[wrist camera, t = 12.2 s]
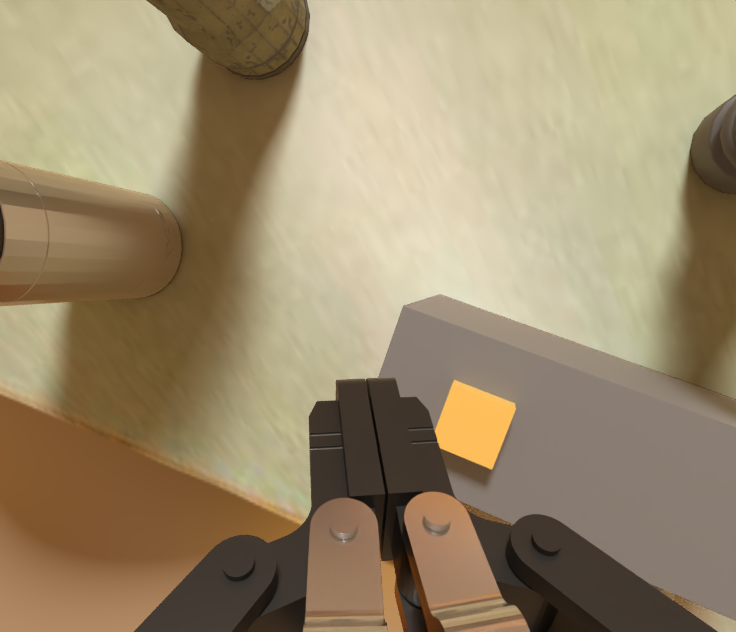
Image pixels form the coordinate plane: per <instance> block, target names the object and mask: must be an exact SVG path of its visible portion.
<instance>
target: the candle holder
mask: <svg viewBox="0 0 736 632" xmlns="http://www.w3.org/2000/svg"><path fill="white" fill-rule="evenodd" d="M690 154H691V159H692V163H693V167H694V170H695V171H696V173H697V174H698V175H699V176H700V178H701V179H702V180H703V181H704V183H705V184H707V185H709V186H711V187H713V188H715V189H717V190H719V191H720V192H725V193H734V194H736V95H734V96H733V97H731V98H730V99H729V100H727V101H726V102H724V103H723V104H722V105H721V106H719V107H718V108H717V109H715V110H714V111H713V112H712V113H710V114H709V115H708V116H706V117H705V118H704V120H703V121H702V123H701V124H700V126H699V127H698V128H697V130H696V131H695V133H694V135H693V140H692V145H691V150H690Z"/></svg>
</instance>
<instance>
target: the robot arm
mask: <svg viewBox="0 0 736 632" xmlns="http://www.w3.org/2000/svg"><path fill="white" fill-rule="evenodd" d="M181 251H182V242H181V234H180V230H179V227H178V224H177V222H176V220H175V218H174V216H173V214H172V213H171V212H170V210H169V209H168V208H167V207H166V205H164V204H163V203H162V202H161V201H159V200H158V199H156V198H154V197H152V196H150V195H148V194H143V193H139V192H135V191H131V190H126V189H122V188H118V187H114V186H110V185H106V184H101V183H97V182H93V181H88V180H84V179H79V178H75V177H71V176H66V175H62V174H57V173H53V172H49V171H44V170H40V169H36V168H31V167H27V166H22V165H18V164H14V163H9V162H5V161H0V306H12V305H28V304H45V303H61V302H77V301H94V300H114V299H129V298H142V297H147V296H151V295H153V294H155V293H157V292H159V291H160V290H162V289H163V288H164V287H165V286H167V284H168V283H169V282H170V281H171V279H172V278H173V277H174V275H175V273H176V271H177V269H178V266H179V262H180V259H181ZM309 442H310V476H311V503H312V507H311V511H310V513H309V516H308V518H307V519H306V521H305V522H304V523H303V524H302V525H301V526H300V527H299V528H298V529H297V530H296V531H294V532H293V533H291V534H289V535H287V536H285V537H282V538H280V539H277V540H275V541H272V542H270V543H267V542H265V541H264V540H262V539H260V538H258V537H255V536H251V535H239V536H234V537H231V538H228V539H226V540H224V541H222V542H221V543H219V544H218V545H216V546H215V547H214V548H213V549H212V550H211V551H210V552H209V553H208V554H207V555H206V556H205V558H204V559H203V560H202V561H201V562H200V563H199V564H198V565H197V566H196V567H195V568H194V569H193V570H192V571H191V572H190V573H189V575H187V576H186V578H185V579H183V581H182V582H181V583H180V584H179V585H178V586H177V587H176V588H175V589H174V590H173V591H172V592H171V593H170V594H169V595H168V596H167V597H166V598H165V600H164V601H163V602H162V603H161V604H160V605H159V606H158V607H157V608H156V609H155V610H154V611H153V612H152V613H151V614H150V615H149V616H148V617H147V618H146V620H144V622H143V623H142V624H141V625H140V626H139V627H138V628H137V629H136V630H135V631H134V632H388V628H387V623H386V622H385V619H384V609H383V594H382V578H381V563H380V552H381V559H382V561H388V560H393V562H394V568H395V574H396V583H395V597H396V601H397V605H398V610H399V614H400V618H401V623H402V626H403V631H404V632H717V631H716V630H714V629H713V628H712V627H710V626H709V625H707V624H706V623H704V622H703V621H702V620H700V619H699V618H697V617H696V616H694V615H693V614H692V613H690V612H689V611H687V610H686V609H684V608H683V607H682V606H680V605H679V604H677V603H676V602H674V601H673V600H672V599H670V598H669V597H667V596H666V595H664V594H663V593H662V592H660V591H659V590H657V589H656V588H654V587H653V586H652V585H650V584H649V583H647V582H646V581H645V580H643V579H642V578H640V577H639V576H637V575H636V574H635V573H633V572H632V571H630V570H629V569H627V568H626V567H625V566H623V565H622V564H620V563H619V562H617V561H616V560H615V559H613V558H612V557H610V556H609V555H607V554H606V553H605V552H603V551H602V550H600V549H599V548H597V547H596V546H595V545H593V544H592V543H590V542H589V541H587V540H586V539H585V538H583V537H582V536H580V535H579V534H577V533H576V532H575V531H573V530H572V529H570V528H569V527H567V526H566V525H565V524H563V523H562V522H560V521H558V520H557V519H554V518H552V517H549V516H546V515H541V514H531V515H527V516H524V517H522V518H520V519H519V520H517V521H516V523H515V524H514V525H513V526H511V525H506V524H502V523H497V522H493V521H488V520H485V519H482V518H479V517H477V516H475V515H473V514H472V513H470V512H469V511H467V510H466V509H465V507H464V506H463V505H462V504H461V503H460V502H459V501H458V500H457V499H456V497H455V495H454V493H453V490H452V487H451V483H450V480H449V477H448V473H447V470H446V467H445V463H444V460H443V457H442V453H441V450H440V447H439V443H438V442H437V437H436V433H435V430H434V429H433V423H432V420H431V417H430V413H429V410H428V409H427V408H426V407H425V406H424V405H423V404H422V402H421V401H420V400H419V399H418V398H417V397H400V394H399V390H398V386H397V382H396V379H395V378H394V377H391V378H368V379H366V381H365V379H348V380H336V401H317V402H316V404H315V406H314V408H313V410H312V412H311V414H310V416H309Z"/></svg>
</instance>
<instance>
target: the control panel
mask: <svg viewBox="0 0 736 632" xmlns="http://www.w3.org/2000/svg"><path fill="white" fill-rule="evenodd" d="M391 377H394V378H395V379H396V382H397V386H398V390H399V394H400V397H417V398H418V399H419V400H420V401H421V402H422V404H423V405H424V406H425V407H426V408H427V409H428V410H429V413H430V417H431V420H432V423H433V429H434V430H435V433H436V437H437V442H438V443H439V447H440V450H441V453H442V457H443V460H444V463H445V467H446V470H447V473H448V477H449V480H450V483H451V487H452V490H453V493H454V495H455V497H456V499H457V500H458V501H461V502H463V503H465V504H468V505H470V506H472V507H474V508H477V509H479V510H481V511H484V512H486V513H488V514H491V515H493V516H495V517H497V518H500V519H502V520H504V521H507V522H509V523H511V524H515V523H516V521H517V520H519V519H520V518H522V517H524V516H527V515H531V514H541V515H546V516H549V517H552V518H554V519H557V520H558V521H560V522H562V523H563V524H565V525H566V526H567V527H569V528H570V529H572V530H573V531H575V532H576V533H577V534H579V535H580V536H582V537H583V538H585V539H586V540H587V541H589V542H590V543H592V544H593V545H595V546H596V547H597V548H599V549H600V550H602V551H603V552H605V553H606V554H607V555H609V556H610V557H612V558H613V559H615V560H616V561H617V562H619V563H620V564H622V565H623V566H625V567H626V568H627V569H629V570H630V571H632V572H633V573H635V574H636V575H637V576H639V577H640V578H642V579H643V580H645V581H646V582H647V583H650V584H652V585H654V586H657V587H659V588H661V589H664V590H666V591H668V592H670V593H673V594H675V595H677V596H680V597H682V598H684V599H687V600H689V601H691V602H694V603H696V604H698V605H700V606H703V607H705V608H707V609H710V610H712V611H714V612H717V613H719V614H721V615H724V616H726V617H728V618H730V619H733V620H735V621H736V399H733V398H730V397H727V396H724V395H722V394H719V393H716V392H713V391H710V390H708V389H705V388H702V387H699V386H696V385H693V384H691V383H688V382H685V381H682V380H679V379H677V378H674V377H671V376H668V375H665V374H663V373H660V372H657V371H654V370H651V369H648V368H646V367H643V366H640V365H637V364H634V363H632V362H629V361H626V360H623V359H620V358H618V357H615V356H612V355H609V354H606V353H603V352H601V351H598V350H595V349H592V348H589V347H587V346H584V345H581V344H578V343H575V342H573V341H570V340H567V339H564V338H561V337H558V336H556V335H553V334H550V333H547V332H544V331H542V330H539V329H536V328H533V327H530V326H528V325H525V324H522V323H519V322H516V321H513V320H511V319H508V318H505V317H502V316H499V315H497V314H494V313H491V312H488V311H485V310H483V309H480V308H477V307H474V306H471V305H468V304H466V303H463V302H460V301H457V300H454V299H452V298H449V297H446V296H443V295H436V296H433V297H430V298H427V299H424V300H420V301H417V302H414V303H411V304H408V305H404V306H403V308H402V311H401V314H400V317H399V320H398V322H397V325H396V328H395V331H394V334H393V337H392V340H391V342H390V345H389V348H388V351H387V354H386V357H385V360H384V363H383V365H382V368H381V371H380V374H379V377H378V378H391Z"/></svg>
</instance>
